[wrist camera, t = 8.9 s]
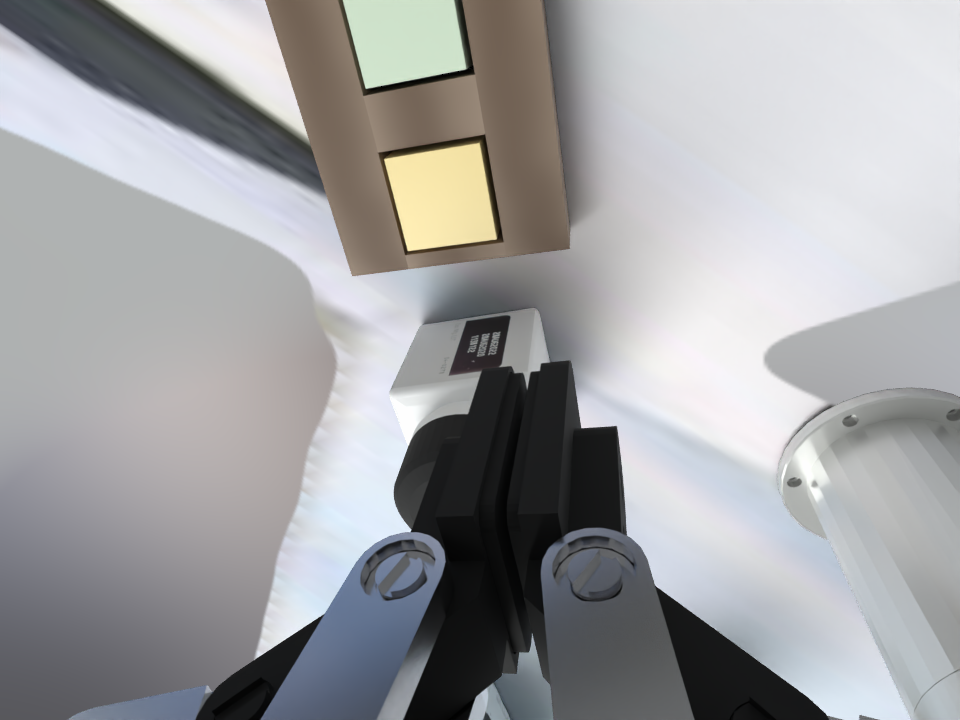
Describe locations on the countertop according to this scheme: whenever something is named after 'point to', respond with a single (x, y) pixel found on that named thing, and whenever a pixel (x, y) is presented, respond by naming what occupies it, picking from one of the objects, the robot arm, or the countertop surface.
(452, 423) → the container
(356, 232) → the key panel
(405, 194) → the ochre key
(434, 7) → the sage key
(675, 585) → the countertop surface
